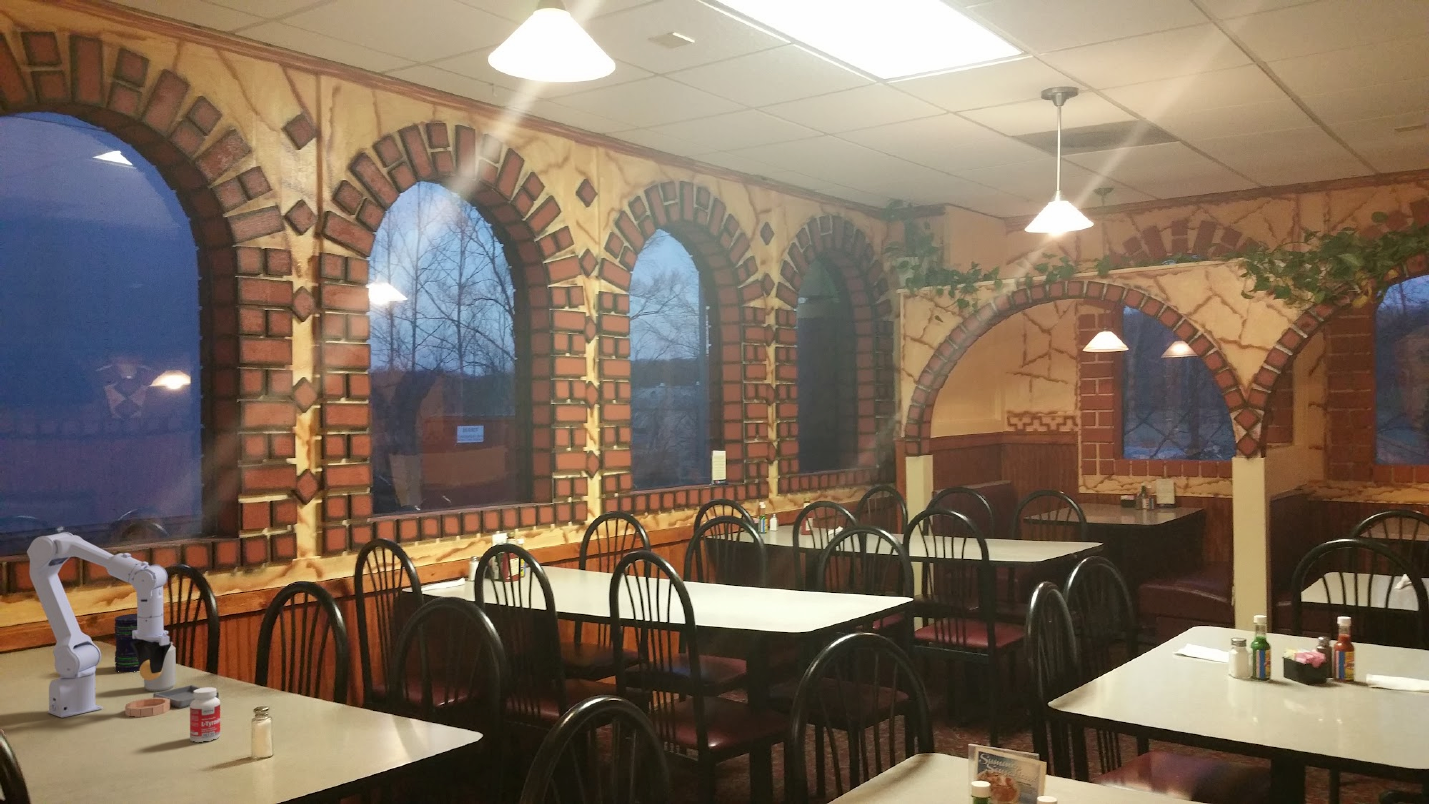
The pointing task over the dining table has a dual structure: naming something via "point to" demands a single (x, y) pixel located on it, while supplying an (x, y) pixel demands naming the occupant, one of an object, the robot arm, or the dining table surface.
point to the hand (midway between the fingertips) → (150, 670)
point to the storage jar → (125, 643)
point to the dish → (147, 707)
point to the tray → (180, 696)
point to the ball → (148, 671)
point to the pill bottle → (204, 715)
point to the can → (164, 673)
